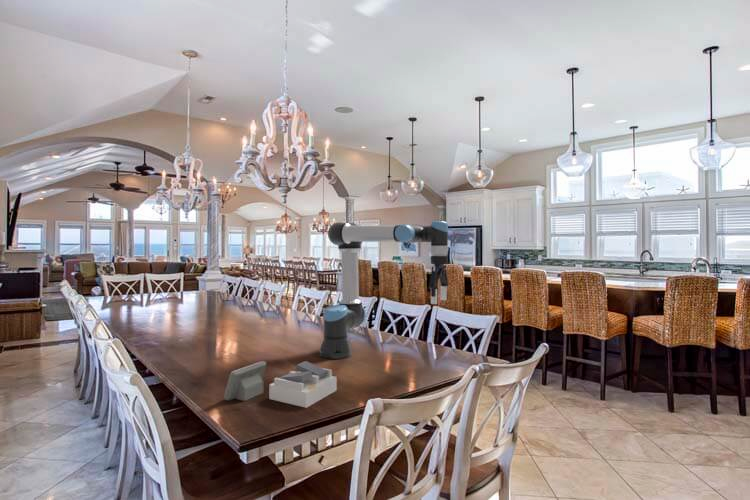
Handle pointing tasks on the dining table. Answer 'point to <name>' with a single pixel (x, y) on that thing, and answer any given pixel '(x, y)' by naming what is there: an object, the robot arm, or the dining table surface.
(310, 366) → the rocker
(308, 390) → the switch unit
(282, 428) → the dining table surface
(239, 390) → the digital clock
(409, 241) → the robot arm
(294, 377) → the rocker
